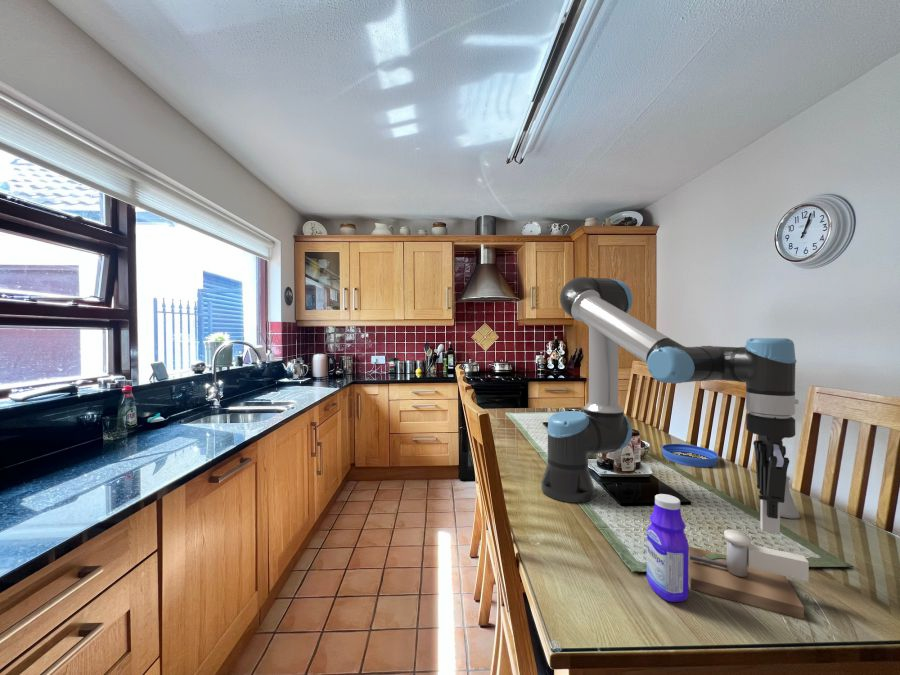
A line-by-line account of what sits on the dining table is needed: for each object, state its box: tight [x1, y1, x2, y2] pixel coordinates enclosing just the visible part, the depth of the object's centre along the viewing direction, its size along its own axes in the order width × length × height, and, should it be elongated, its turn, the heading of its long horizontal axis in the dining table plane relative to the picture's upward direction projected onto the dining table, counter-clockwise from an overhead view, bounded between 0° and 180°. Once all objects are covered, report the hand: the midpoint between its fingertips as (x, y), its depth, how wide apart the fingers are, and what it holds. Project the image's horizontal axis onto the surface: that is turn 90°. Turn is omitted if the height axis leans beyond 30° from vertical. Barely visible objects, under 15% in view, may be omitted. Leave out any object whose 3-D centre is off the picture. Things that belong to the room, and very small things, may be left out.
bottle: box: [646, 493, 690, 603], centre depth 69 cm, size 7×6×17 cm
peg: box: [689, 529, 810, 582], centre depth 71 cm, size 18×4×7 cm, turn 63°
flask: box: [780, 475, 801, 520], centre depth 99 cm, size 7×7×10 cm
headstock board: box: [688, 546, 805, 620], centre depth 71 cm, size 16×12×2 cm
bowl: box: [661, 443, 719, 468], centre depth 141 cm, size 18×18×4 cm
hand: (769, 530), depth 75 cm, fingers closed
